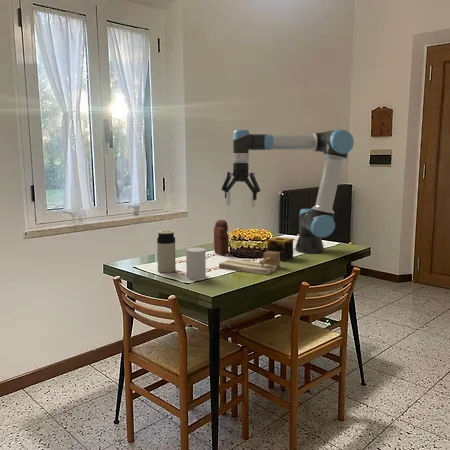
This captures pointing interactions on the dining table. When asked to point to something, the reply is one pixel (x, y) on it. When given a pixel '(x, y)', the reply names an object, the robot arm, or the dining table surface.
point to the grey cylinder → (196, 263)
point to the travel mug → (166, 251)
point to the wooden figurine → (221, 238)
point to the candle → (281, 247)
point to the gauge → (271, 258)
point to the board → (248, 266)
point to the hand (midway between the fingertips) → (240, 205)
